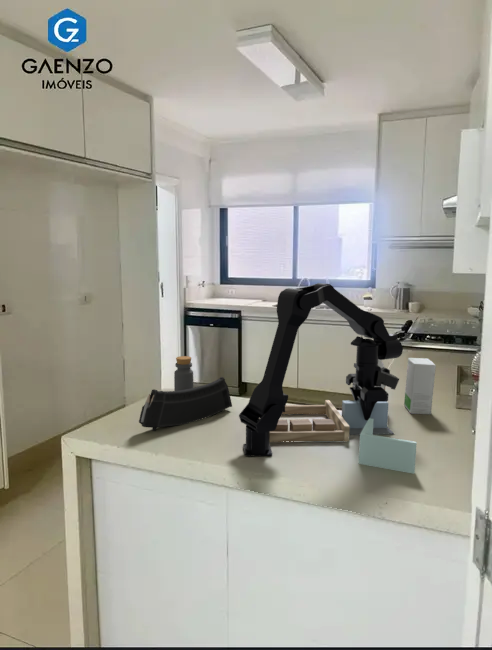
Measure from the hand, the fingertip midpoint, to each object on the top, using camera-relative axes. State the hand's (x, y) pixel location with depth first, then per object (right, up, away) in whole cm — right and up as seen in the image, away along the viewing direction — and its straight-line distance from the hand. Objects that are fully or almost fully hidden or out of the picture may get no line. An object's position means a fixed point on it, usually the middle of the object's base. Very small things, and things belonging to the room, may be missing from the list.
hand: (364, 417), depth 131 cm
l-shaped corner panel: (+1, -7, -19) cm, 20 cm away
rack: (-18, -3, 0) cm, 19 cm away
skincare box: (+21, -1, +17) cm, 26 cm away
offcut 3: (-12, -4, -6) cm, 14 cm away
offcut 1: (-24, -4, -6) cm, 25 cm away
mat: (0, -3, 0) cm, 3 cm away
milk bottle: (+7, -1, +18) cm, 19 cm away
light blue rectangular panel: (0, -3, 0) cm, 3 cm away
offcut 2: (-18, -4, -6) cm, 20 cm away
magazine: (-48, -2, +5) cm, 49 cm away
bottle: (-52, 0, +19) cm, 55 cm away
